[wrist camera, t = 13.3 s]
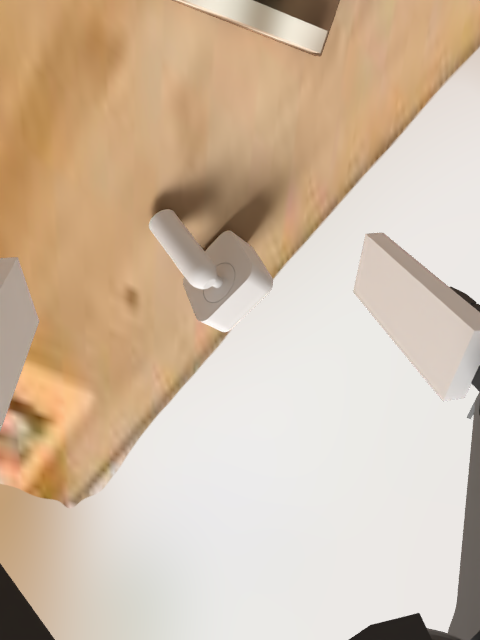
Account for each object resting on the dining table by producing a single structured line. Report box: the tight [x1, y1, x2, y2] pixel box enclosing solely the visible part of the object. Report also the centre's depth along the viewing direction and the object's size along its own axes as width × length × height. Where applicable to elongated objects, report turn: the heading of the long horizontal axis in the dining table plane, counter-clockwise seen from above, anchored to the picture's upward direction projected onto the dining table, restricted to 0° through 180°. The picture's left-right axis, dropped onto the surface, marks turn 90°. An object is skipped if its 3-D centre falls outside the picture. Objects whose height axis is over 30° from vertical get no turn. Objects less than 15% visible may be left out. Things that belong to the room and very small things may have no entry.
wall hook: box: [149, 209, 273, 332], centre depth 40 cm, size 8×10×10 cm
